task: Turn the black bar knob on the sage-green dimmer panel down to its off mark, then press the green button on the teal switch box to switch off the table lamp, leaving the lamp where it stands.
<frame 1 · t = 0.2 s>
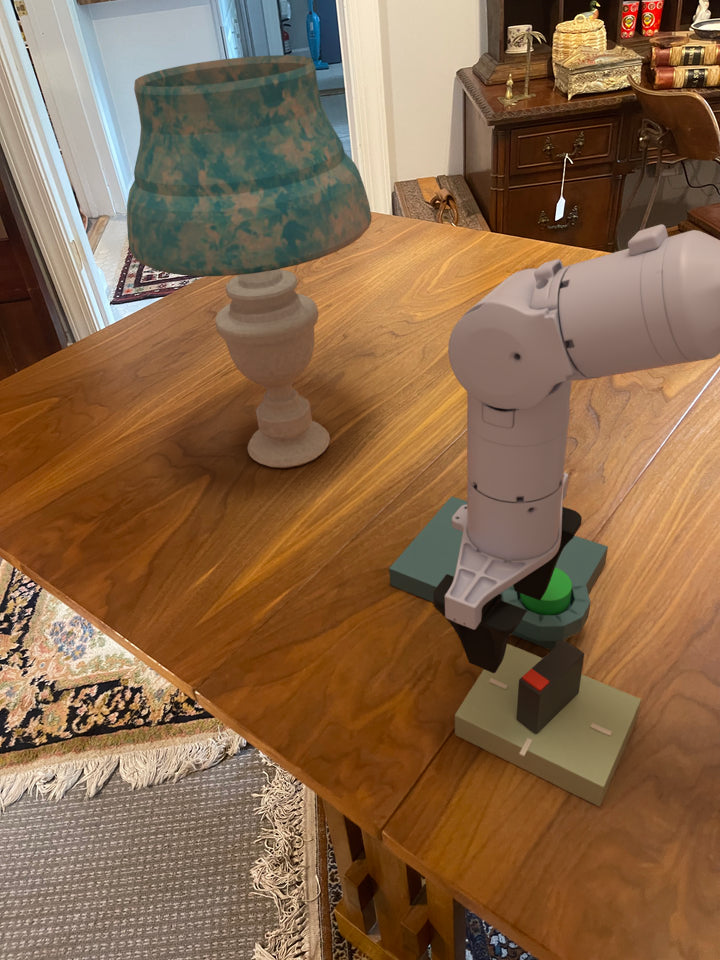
hand: (507, 627, 52), 8 cm above the table, tool pointing down, fingers open, 7 cm apart
dimmer knob: (550, 685, 52), point 5 cm above the table, hinge at 75.0°
table lamp: (289, 447, 88), on the table
switch box: (497, 574, 68), on the table
light button: (545, 590, 60), point 4 cm above the table, slide at 0.1 cm
snail figurine: (506, 405, 92), on the table
dimmer panel: (545, 727, 55), on the table
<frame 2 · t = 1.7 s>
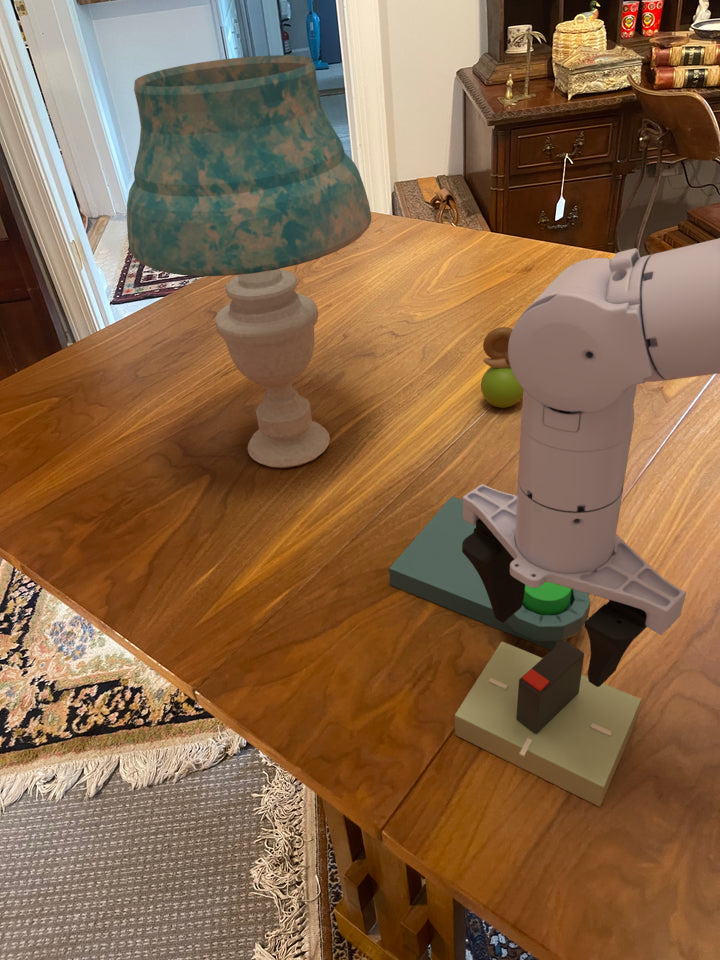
hand: (553, 642, 49), 9 cm above the table, tool pointing down, fingers open, 7 cm apart
nothing on the table moved.
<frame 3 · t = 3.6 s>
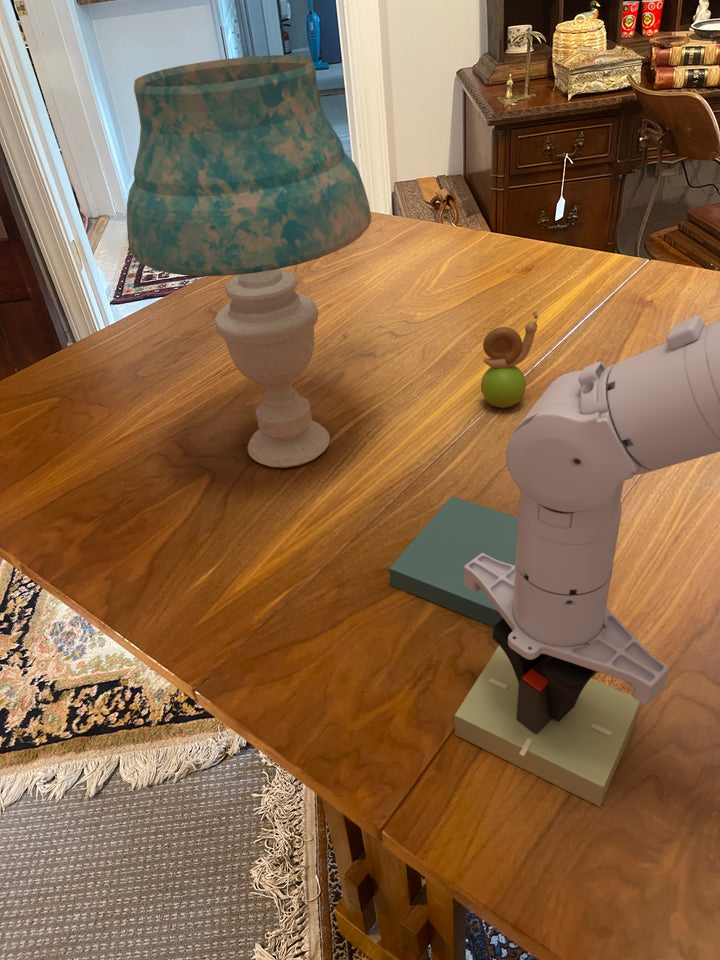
hand: (548, 700, 53), 3 cm above the table, tool pointing down, fingers closed on dimmer knob, 2 cm apart
dimmer knob: (550, 685, 52), point 5 cm above the table, hinge at 75.1°, touching gripper
everything else where it was.
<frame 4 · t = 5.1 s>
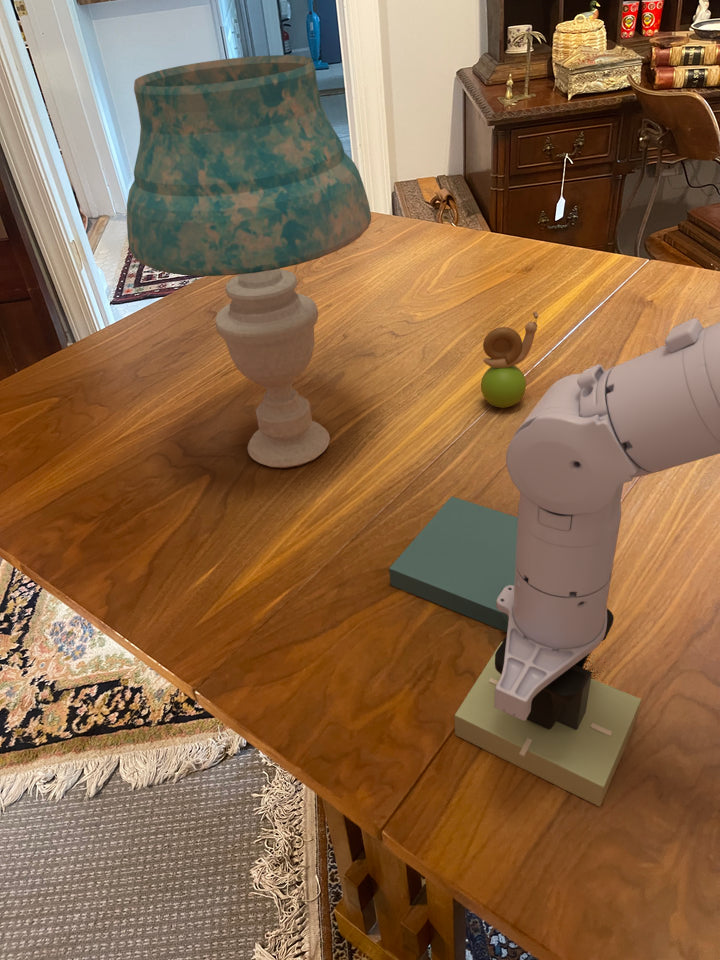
hand: (548, 702, 53), 3 cm above the table, tool pointing down, fingers open, 3 cm apart
dimmer knob: (550, 685, 52), point 5 cm above the table, hinge at -0.1°
everything else where it was.
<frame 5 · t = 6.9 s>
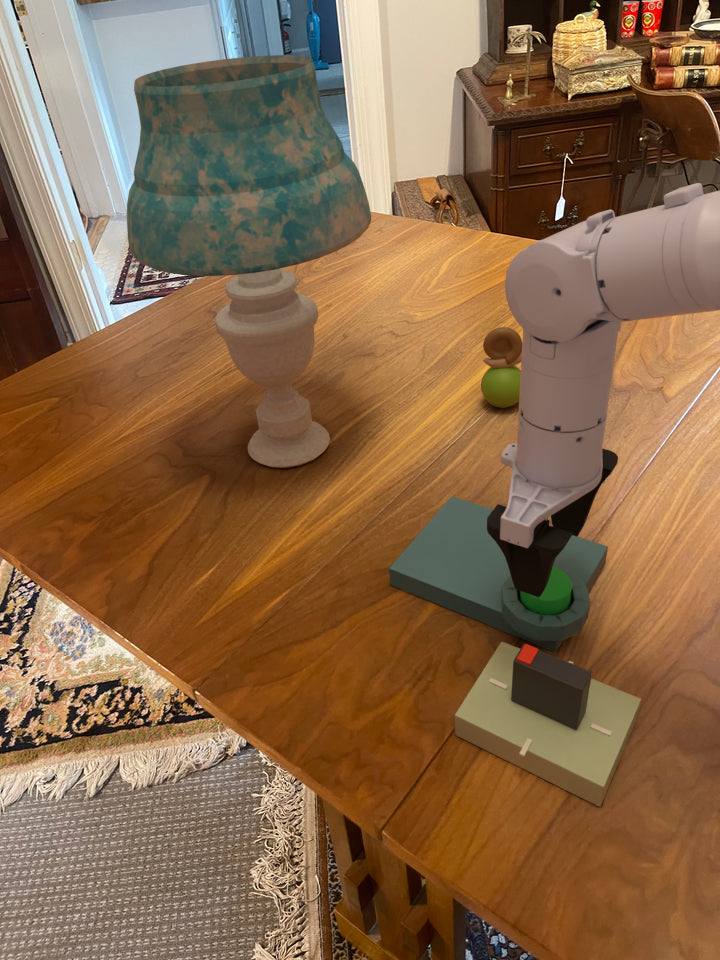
hand: (548, 559, 57), 8 cm above the table, tool pointing down, fingers open, 7 cm apart
nothing on the table moved.
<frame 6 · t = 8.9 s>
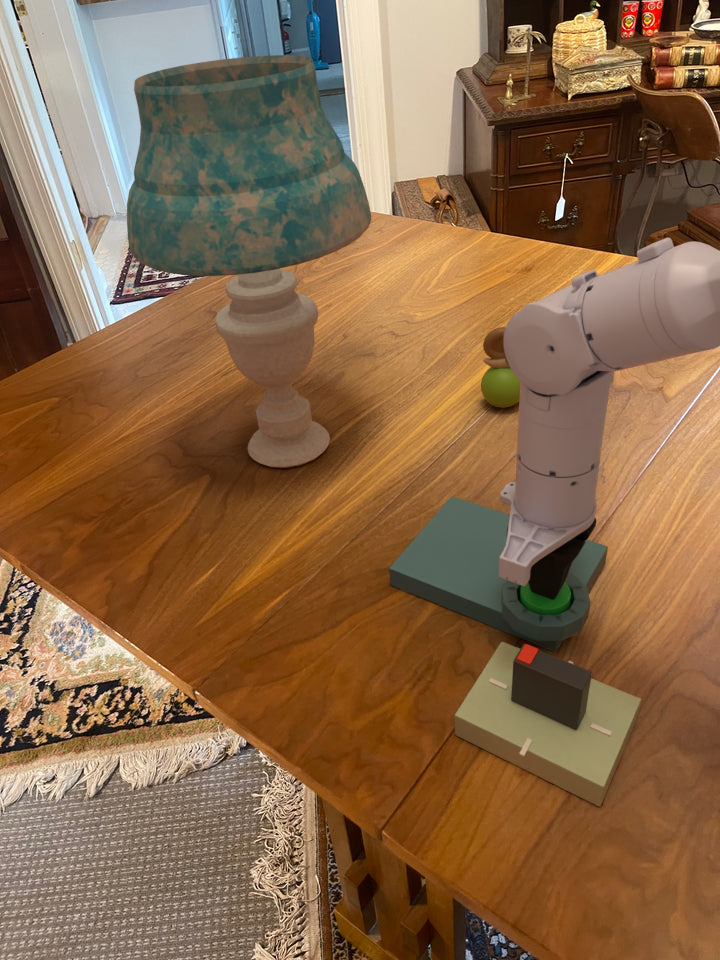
hand: (545, 590, 60), 4 cm above the table, tool pointing down, fingers closed, pressing on light button
light button: (544, 598, 60), point 4 cm above the table, slide at -0.8 cm, touching gripper
everything else where it was.
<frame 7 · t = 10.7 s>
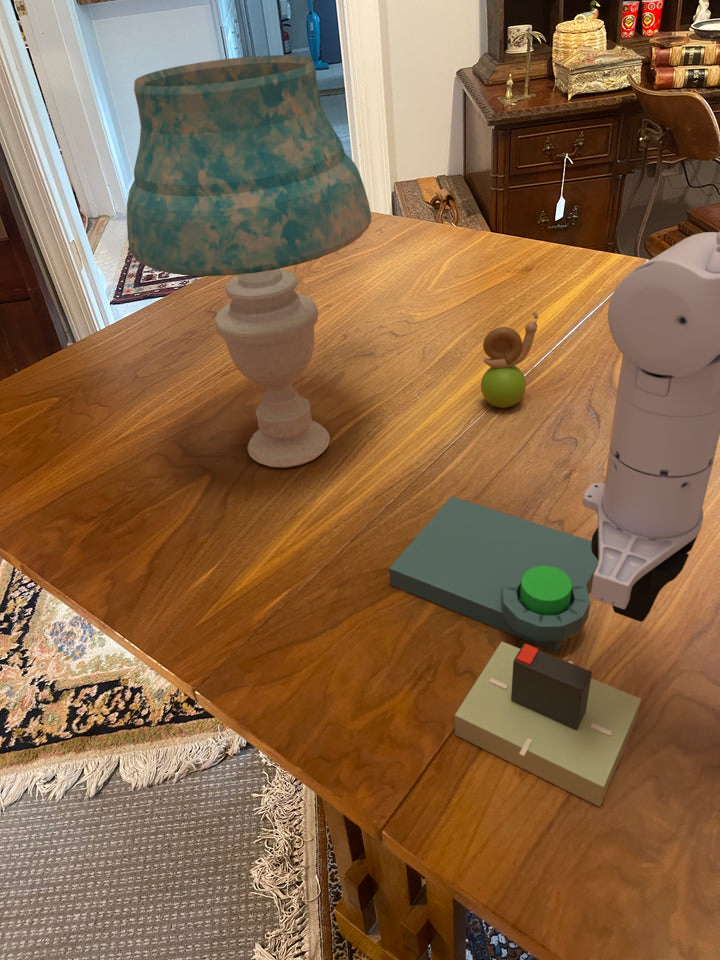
hand: (630, 610, 51), 9 cm above the table, tool pointing down, fingers closed
light button: (545, 590, 60), point 4 cm above the table, slide at 0.1 cm
everything else where it was.
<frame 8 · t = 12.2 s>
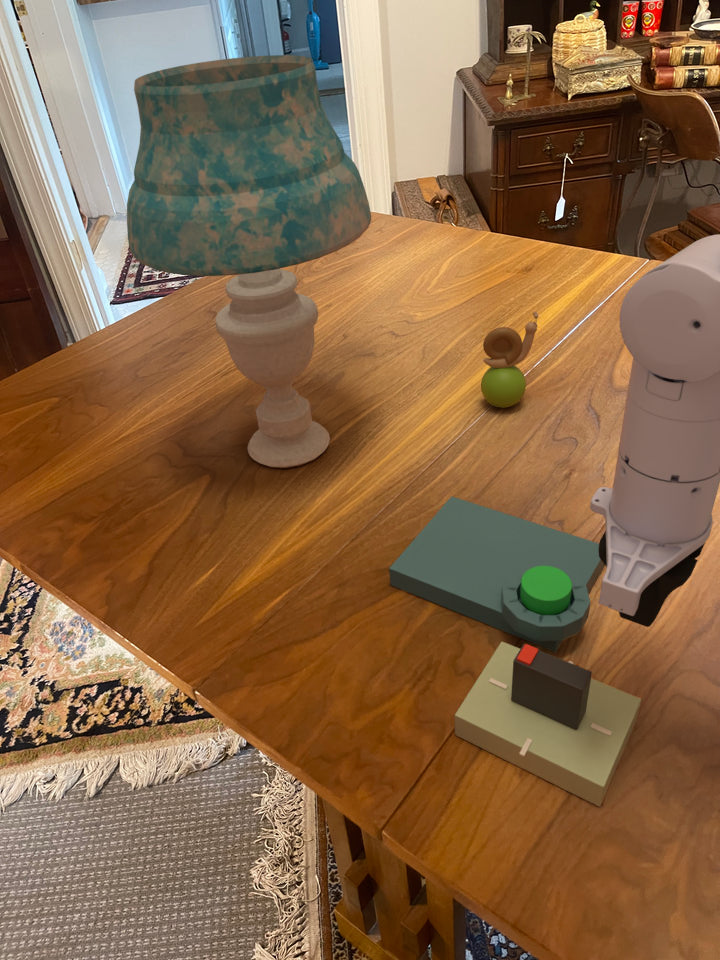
hand: (637, 615, 50), 9 cm above the table, tool pointing down, fingers closed
nothing on the table moved.
at the end: dimmer knob at +0° (first picture: +75°); light button pushed in 1.2 cm at the most during the clip, back to where it started at the end; table lamp moved 0.2 cm from its start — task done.
